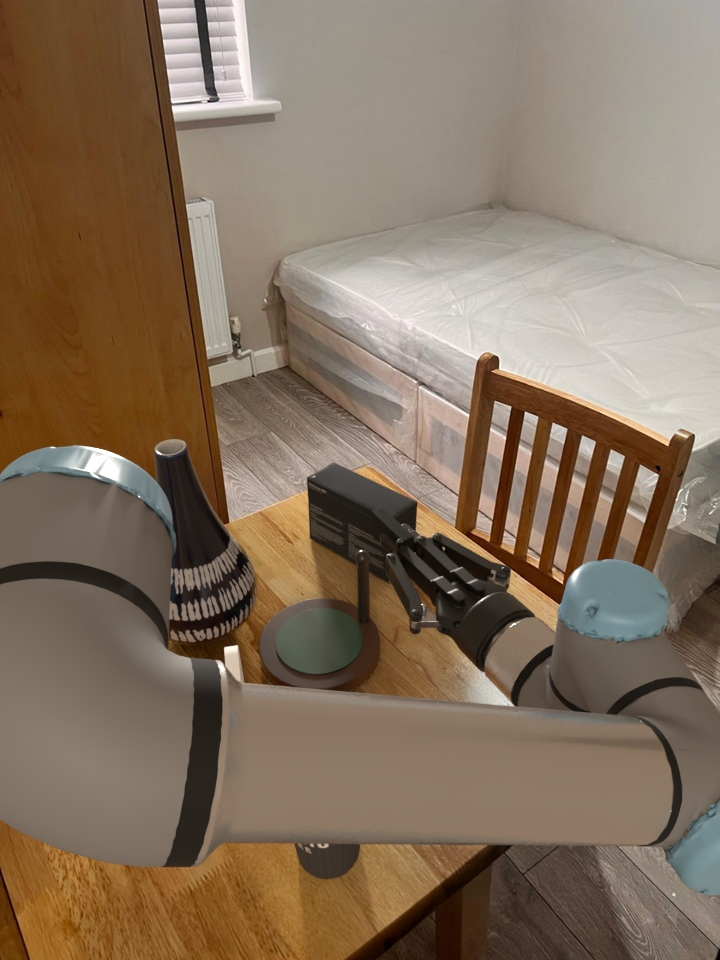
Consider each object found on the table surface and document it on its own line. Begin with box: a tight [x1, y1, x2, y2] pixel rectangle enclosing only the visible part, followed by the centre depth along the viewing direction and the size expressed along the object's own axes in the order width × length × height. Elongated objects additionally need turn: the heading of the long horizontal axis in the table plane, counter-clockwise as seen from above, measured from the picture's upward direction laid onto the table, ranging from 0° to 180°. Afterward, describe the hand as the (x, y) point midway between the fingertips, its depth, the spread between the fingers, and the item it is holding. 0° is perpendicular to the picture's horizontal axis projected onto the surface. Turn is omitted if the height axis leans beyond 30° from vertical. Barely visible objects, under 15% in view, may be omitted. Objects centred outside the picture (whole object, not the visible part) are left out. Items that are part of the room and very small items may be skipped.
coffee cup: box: [293, 844, 361, 880], centre depth 72 cm, size 10×10×15 cm
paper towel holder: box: [258, 550, 381, 692], centre depth 94 cm, size 16×16×14 cm
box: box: [306, 461, 418, 584], centre depth 112 cm, size 17×7×12 cm, turn 49°
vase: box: [153, 438, 259, 647], centre depth 94 cm, size 16×16×30 cm
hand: (376, 518), depth 86 cm, fingers closed
